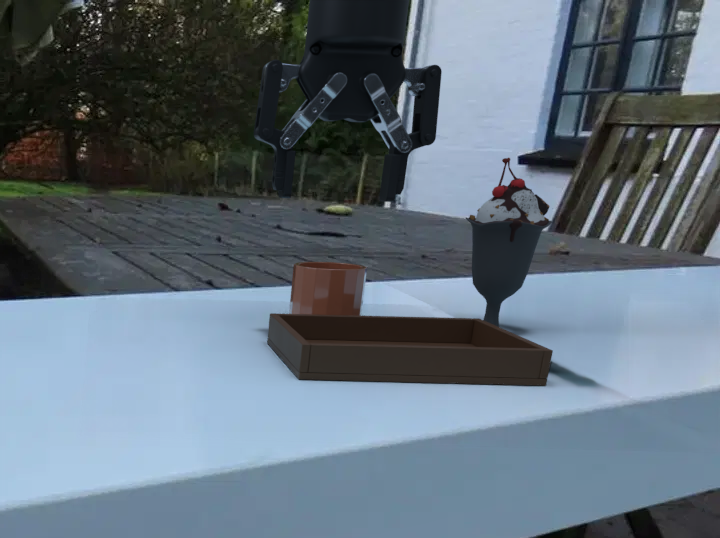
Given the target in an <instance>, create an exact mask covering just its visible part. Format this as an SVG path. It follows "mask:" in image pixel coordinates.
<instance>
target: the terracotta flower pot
mask: <svg viewBox="0 0 720 538" xmlns="http://www.w3.org/2000/svg"><path fill="white" fill-rule="evenodd" d="M292 268H293V269H292V279H291V289H290V300H289V309H288V314H317V315H358V316H362V314H363V304H364V297H365V290H366V289H365V288H366V280H367V272H368V267H367V266H365V265H361V264H357V263H350V262H349V263H348V262H337V261H333V262H332V261H300V262H299V261H298V262H295V263H294V264H293V267H292Z"/></svg>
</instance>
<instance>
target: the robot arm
mask: <svg viewBox="0 0 720 538" xmlns="http://www.w3.org/2000/svg"><path fill="white" fill-rule="evenodd" d="M409 4H410V0H309V3H308V13H307V14H308V15H307V23H306V32H305V33H306V34H305V44H304V53H303V55H302V58H301V61H300V62H299V64H293V63H292V64H291V63H283V62H282V61H281V60H279V59H273V60H271V61H269V62H267V63H266V64H264V66H263V68H262V70H261V71H262V72H261V77H260V78H261V80H260V86H259V87H260V88H259V92H258V99H257V107H256V112H255V113H256V114H255V120H254V127H253V137H254V139H256V141H260V142H262V143H265V144H267V145H270V146H271V147H272V149H273V154H274V155H273V166H272V175H271V176H272V177H271V186H272V189H273V191H277V193H278V194H277V196H278V198H280V199H291V197H292V194H293V182H294V174H295V173H294V171H295V163H296V152H297V150H294V145H295V144H296V143H297V142H298V141H299V140H300V138H301V137H302V136H303V135H304V134H305V133H306V131H307V130H308V129H309V128H310V127H311V126H312V125H313V124H314V123H315V122H316V121H317V120H318V119H320V120H322V121H323V122H338V121H342V120H345V121H348V122H351V123H366V122H368V121H370V122H371V123H372V125H373V127H374V129H375V130H376V131H377V132H378V133H379V135H380V136H381V138H382V140H383V141H384V143H385V145H386V146H387V148H388V154H387V153H385V154H384V157H383V158H384V159H383V165H382V174H381V181H380V189H379V197H378V198H379V201H380V202H384V203H394V202H395V200H396V197H397V195H399V196H401V194H402V192H403V190H404V189H405V182H406V175H407V169H408V168H407V167H408V160H409V156H410V155H411V153H412V152H413V151H414V150H417V149H421V148H423V147H425V146H431V145H432V144H434V143H435V141H436V137H437V128H438V115H439V107H440V106H439V105H440V93H441V83H442V73H443V72H442V68H441V66H440V65H439V64H429V65H426V66H423V67H405V65H404V62H403V50H404V43H405V36H406V27H407V22H408V21H407V20H408V12H409V6H410V5H409ZM293 79H295V81H296V83H297V84H298V87H299V88H300V90H301V91H302V93H303V95H304V97H305V100H304V102H303V103H302V104H301V105H300V106H299V107H298V109H297V110H296V111H295V113H294V114H293V115H292V116H291V118H290V120H289V121H288V122H287V124H286V125H285V126H284V127H283V128H282V129H281V130H280V129H279V128H276V127H275V124H276V118H277V110H278V105H279V97H280V93H282V92H285V91H286V90H287V89H288V88H289V85H290V83H291V81H292V80H293ZM403 83H404V84H406V85H407V91H408V93H409V95H410V96H412V97H414V99H413V111H412V112H413V113H412V122H411V132H409V133H408V132H407V130H406V128H405V126H404V125H403V122H402V118H401V116H400V114H399V112H398V110H397V108H396V107H395V105H394V102H393V101H392V100H391V99H392V97H393V96H394V95H395V94H396V92H397V91H398V90H399V88H401V86H402V85H403Z"/></svg>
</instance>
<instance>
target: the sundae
mask: <svg viewBox="0 0 720 538" xmlns="http://www.w3.org/2000/svg"><path fill="white" fill-rule="evenodd" d="M501 161H502V162H503V164H504V166H503V170H502V173H501V176H500V180H499V183H498V185H497V186H495V187H493V189H492V191H491V195H492V196H493V197H491V198H489V199H488V200H486V201H485V202H484V203H483V204H481V206H480V207H479V208H478V209H477V210H476V211H477V213H476V215H473V214H470V215H469V217H465V220H466V221H468V222H469V223H470V225H471V229H472V230H471V231H472V233H471V234H472V235H471V236H472V237H471V238H472V250H471V278H472V285H473V286H474V288H475V290H476V291H477V293H479V294H480V295H481V296H482V297H483V298H484V299H485V302H486V305H485V312H484V316H483V319H482V320H484V321H486V322H488V323H491V324H493V325H495V326H498V327H500V311H501V306H502V304H503V302H504V301H505V300H507V299H508V298H510V297H512V296H514V295H515V294H516V293H517V292H519V290H520V289H521V288H522V287H523V285H524V283H525V280H526V279H527V276H528V273H529V270H530V267H531V264H532V261H533V257H534V255H535V251H536V248H537V245H538V243H539V240H540V238H541V234H542V232H543V230H544V229H547V228H548V227H550V226H551V225H552V223H553V221H552V220H550V219H549V218H547V217H546V216H545V215H546V214H547V213H548V211H549V210H550V205H549V204H548V203H547V202H546V201H545V200H544V199H543V198H541V196H539V195H538V194H535V193H534V191H532V190H533V189H532V188H529V187H527V185H526V182H525V180H524V179H523V178H520V177H519V178H518V177H516V175H515V174H514V173H513V170H512V168H511V166H510V165H511V162H510V161H511V157H506V158H502V159H501ZM507 167H508V171H509V173H510V174H511V176H512V177H513V179H512V180H510V182H509V184H508V185H505V184H502V183H503V180H504V176H505V173H506V169H507Z"/></svg>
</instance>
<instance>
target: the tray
mask: <svg viewBox="0 0 720 538" xmlns="http://www.w3.org/2000/svg"><path fill="white" fill-rule="evenodd" d="M268 320H269V321H268V331H267V345H268V346H269V347H270V348H271V349H272V350H273V351H274V352H275V354H276V355H277V356H278V357H279V359H281V361H282V362H283V363H284V364H285V366H286V367H287V368H288V369H289V370H290V371H291V372H292V373H293V375H295V377H296V378H297V379H298V380H302V381H303V380H307V381H350V382H382V383H383V382H387V383H421V384H422V383H423V384H424V383H427V384H430V383H431V384H459V385H460V384H463V385H464V384H465V385H466V384H467V385H500V386H501V385H503V386H504V385H505V386H539V387H541V386H542V387H543V386H544V387H546V386H547V383H548V378H549V372H550V367H551V362H552V358H553V353H554V352H553V351H554V350H552V349H550V348H548V347H546V346H543V345H541V344H539V343H536V342H535V341H532V340H529V339H528V338H525V337H523V336H520V335H519V334H516V333H513V332H511V331H509V330H507V329H504V328H502V327H500V326H499V327H498V326H495V325H493V324H491V323H488V322H486V321H484V320H483V319H482V318H480V317H479V318H478V317H476V318H475V317H473V318H471V317H440V316H438V317H435V316H433V317H432V316H399V315H398V316H395V315H361V316H358V315H317V314H289V313H269V319H268Z"/></svg>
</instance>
